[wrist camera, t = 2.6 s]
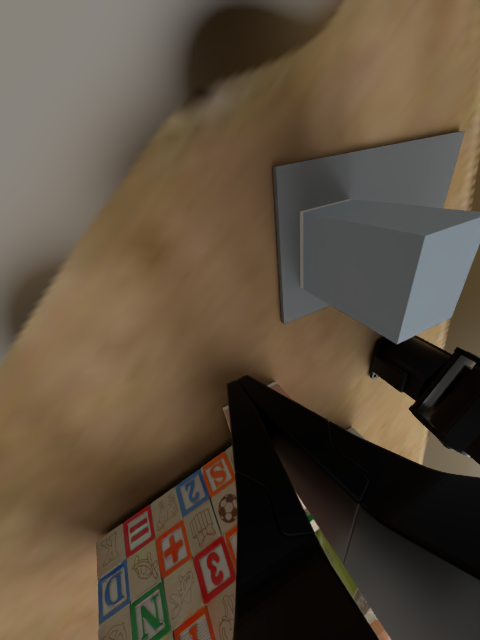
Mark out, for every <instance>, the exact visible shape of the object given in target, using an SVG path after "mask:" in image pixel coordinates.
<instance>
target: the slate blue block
mask: <svg viewBox="0 0 480 640" xmlns="http://www.w3.org/2000/svg"><path fill="white" fill-rule="evenodd" d="M479 244H480V212H473V211H463V210H453V209H443V208H433V207H423V206H413V205H404V204H394V203H384V202H374V201H364V200H354V199H348V200H344V201H340V202H336V203H332V204H328V205H324V206H320V207H316V208H312V209H308V210H305V211H301V212H300V288H302V289H304V290H305V291H307V292H309V293H311V294H312V295H314V296H316V297H317V298H319V299H321V300H322V301H324V302H326V303H328V304H329V305H331V306H333V307H334V308H336V309H338V310H339V311H341V312H343V313H344V314H346V315H348V316H350V317H351V318H353V319H355V320H356V321H358V322H360V323H361V324H363V325H365V326H367V327H368V328H370V329H372V330H373V331H375V332H377V333H378V334H380V335H382V336H384V337H385V338H387V339H389V340H390V341H392V342H394V343H395V344H399V343H401V342H403V341H405V340H407V339H409V338H411V337H413V336H415V335H417V334H419V333H421V332H423V331H425V330H427V329H430V328H432V327H434V326H436V325H438V324H440V323H442V322H444V321H446V320H448V319H450V318H451V317H452V314H453V312H454V309H455V307H456V304H457V301H458V299H459V296H460V294H461V291H462V288H463V285H464V283H465V280H466V278H467V275H468V273H469V270H470V267H471V265H472V262H473V260H474V257H475V254H476V252H477V249H478V246H479Z"/></svg>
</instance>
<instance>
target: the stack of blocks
mask: <svg viewBox="0 0 480 640" xmlns="http://www.w3.org/2000/svg"><path fill="white" fill-rule="evenodd" d="M304 511H305V513H306V515H307V517H308V519H309V521H310V523H311V525H312V527H313V530H314V532H315V531H317V530H318V529H319V527H318V525H317V524H316V522H315V521H314V519H313V518H312V516H311V515H310V513H309V512H308V510H307V508H305V509H304ZM96 546H97V577H98V601H99V630H98V638H99V640H233V628H234V614H235V591H236V552H237V498H236V484H235V471H234V461H233V450H232V446H231V447H229V448H228V449H227V450H226V451H225V452H222V453H221V454H219V455H218V456H217V457H215V458H214V459H212V460H211V461H209V462H208V463H207V464H205V465H204V466H202V467H201V469H199V470H197V471H196V472H195V473H193V474H192V475H190V476H189V477H188V478H186V479H185V480H183V481H182V482H181V483H179V484H178V485H177V486H176V487H174V488H172V489H171V490H169V491H168V492H167V493H165V494H164V495H162V496H161V497H159V498H158V499H157V500H155V501H154V502H152V503H151V504H150V505H148V506H146V507H145V508H143V509H142V510H141V511H139V512H138V513H136V514H135V515H133V516H132V517H131V518H129V519H128V520H126V521H125V522H124V523H123V524H121V525H119V526H118V527H116V528H115V529H113V530H112V531H111V532H109V533H108V534H106V535H105V536H104V537H102V538H101V539H99V540H98V541H97V545H96Z"/></svg>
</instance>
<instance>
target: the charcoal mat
mask: <svg viewBox="0 0 480 640" xmlns="http://www.w3.org/2000/svg"><path fill="white" fill-rule="evenodd" d="M464 132H465V131H459V132H454V133H449V134H444V135H438V136H433V137H428V138H423V139H417V140H412V141H407V142H402V143H396V144H391V145H386V146H380V147H375V148H370V149H365V150H359V151H354V152H349V153H344V154H338V155H333V156H328V157H323V158H317V159H312V160H307V161H302V162H296V163H291V164H286V165H281V166H275V167H273V179H274V197H275V214H276V232H277V249H278V266H279V284H280V301H281V319H282V322H283V323H284V324H285V323H287V322H290V321H292V320H295V319H298V318H300V317H303V316H305V315H308V314H310V313H313V312H315V311H318V310H320V309H323V308H326V307H328V306H331V305H329V304H328V303H326V302H324V301H322V300H321V299H319V298H317V297H316V296H314V295H312V294H311V293H309V292H307V291H305V290H304V289H302V288H300V212H301V211H305V210H308V209H312V208H316V207H320V206H324V205H328V204H332V203H336V202H340V201H344V200H348V199H354V200H364V201H374V202H384V203H394V204H404V205H413V206H423V207H433V208H443V207H444V203H445V200H446V196H447V192H448V189H449V185H450V182H451V178H452V175H453V171H454V168H455V164H456V161H457V157H458V153H459V150H460V146H461V143H462V139H463V136H464Z"/></svg>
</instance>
